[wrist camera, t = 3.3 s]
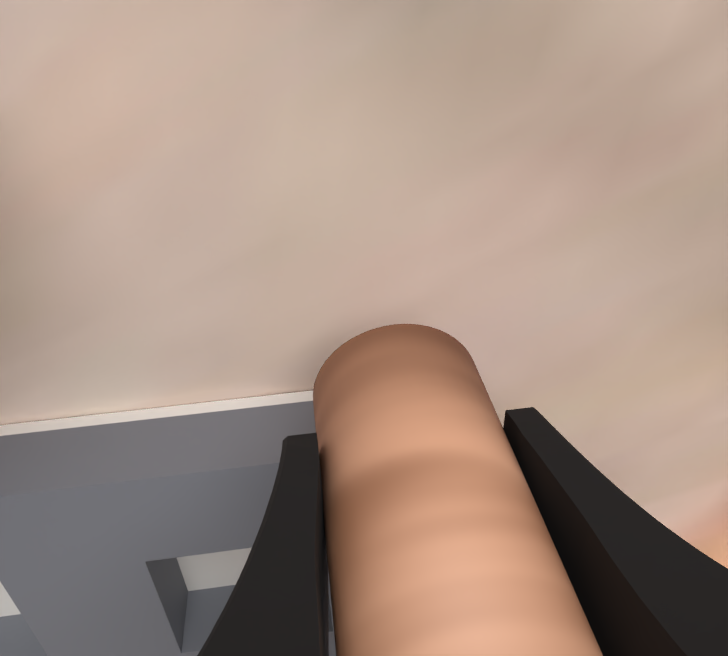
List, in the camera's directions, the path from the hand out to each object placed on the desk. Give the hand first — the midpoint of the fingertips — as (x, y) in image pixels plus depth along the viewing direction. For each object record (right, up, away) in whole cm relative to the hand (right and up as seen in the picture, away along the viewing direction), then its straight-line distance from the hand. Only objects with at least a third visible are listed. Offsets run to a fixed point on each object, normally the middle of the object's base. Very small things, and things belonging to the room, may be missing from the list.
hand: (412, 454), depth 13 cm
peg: (0, +1, +2) cm, 2 cm away
